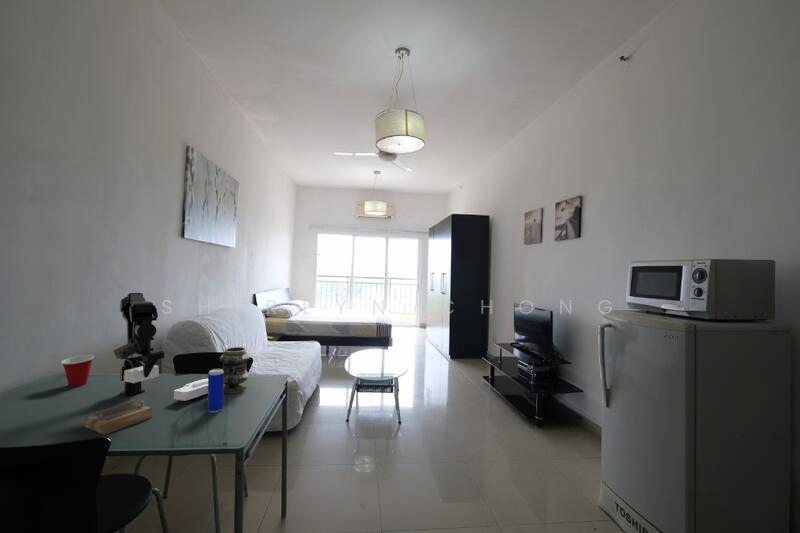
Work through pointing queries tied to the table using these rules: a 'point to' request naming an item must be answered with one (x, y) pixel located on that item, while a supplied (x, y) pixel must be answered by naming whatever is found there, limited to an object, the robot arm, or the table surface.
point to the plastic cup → (77, 369)
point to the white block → (139, 374)
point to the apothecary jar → (234, 369)
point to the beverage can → (215, 390)
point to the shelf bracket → (192, 390)
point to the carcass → (118, 417)
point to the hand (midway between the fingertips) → (141, 376)
